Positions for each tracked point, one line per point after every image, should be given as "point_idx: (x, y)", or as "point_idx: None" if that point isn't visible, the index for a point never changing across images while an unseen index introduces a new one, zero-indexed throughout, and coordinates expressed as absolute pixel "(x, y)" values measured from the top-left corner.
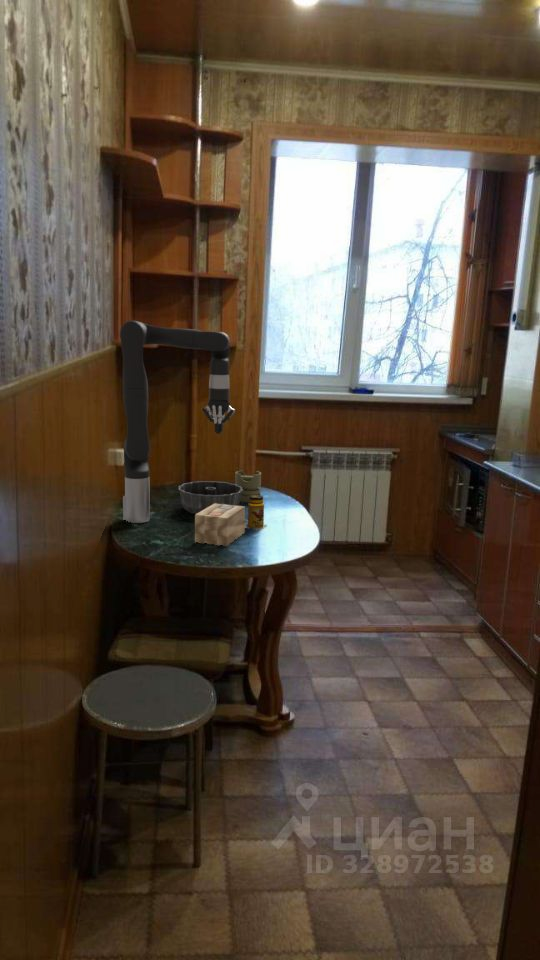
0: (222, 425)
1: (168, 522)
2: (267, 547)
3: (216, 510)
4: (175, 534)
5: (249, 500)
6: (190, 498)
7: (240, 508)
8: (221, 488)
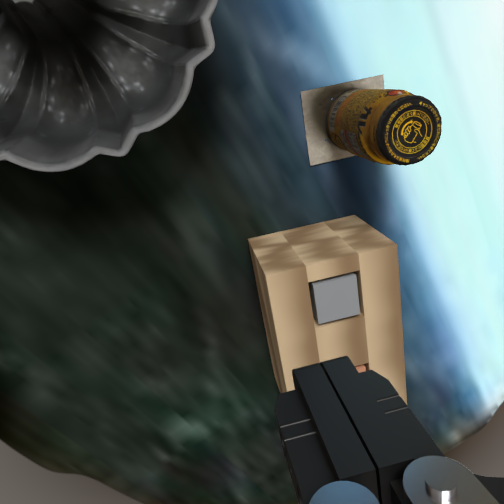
0: (428, 454)
1: (53, 262)
2: (467, 295)
3: (328, 354)
4: (177, 353)
5: (378, 154)
6: (32, 153)
7: (392, 279)
8: None
